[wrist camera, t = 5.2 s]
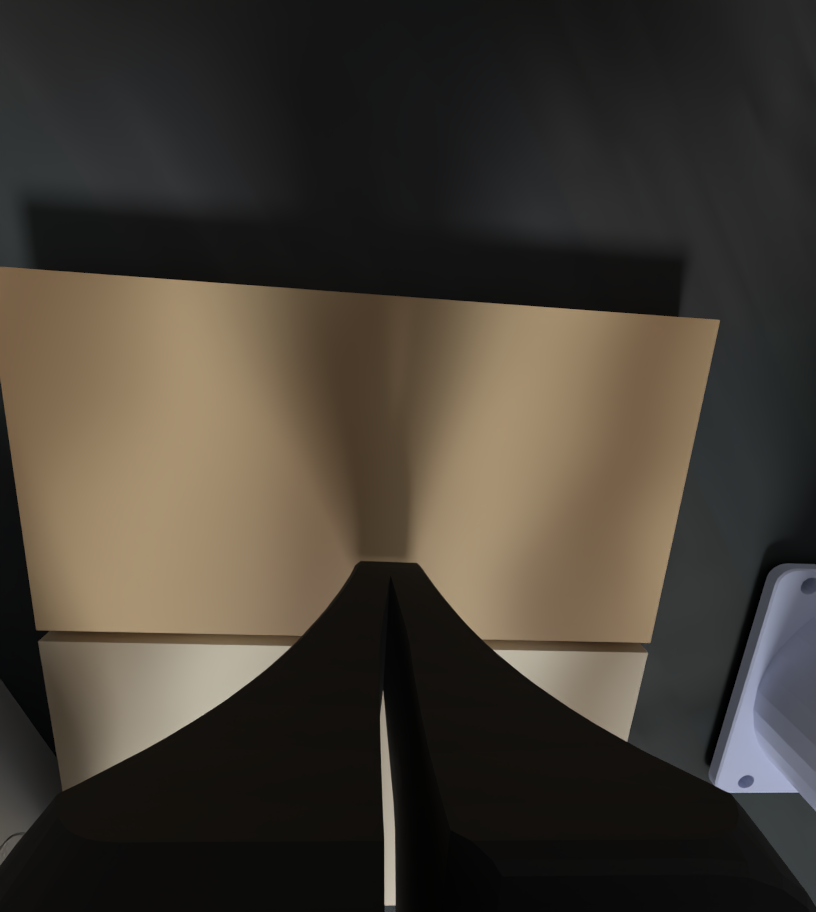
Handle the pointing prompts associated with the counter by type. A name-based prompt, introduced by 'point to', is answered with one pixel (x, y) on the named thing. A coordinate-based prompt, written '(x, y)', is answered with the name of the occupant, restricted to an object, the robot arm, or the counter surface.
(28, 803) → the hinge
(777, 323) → the counter surface
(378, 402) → the plank
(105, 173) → the counter surface
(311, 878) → the robot arm
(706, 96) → the counter surface
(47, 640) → the floor board
